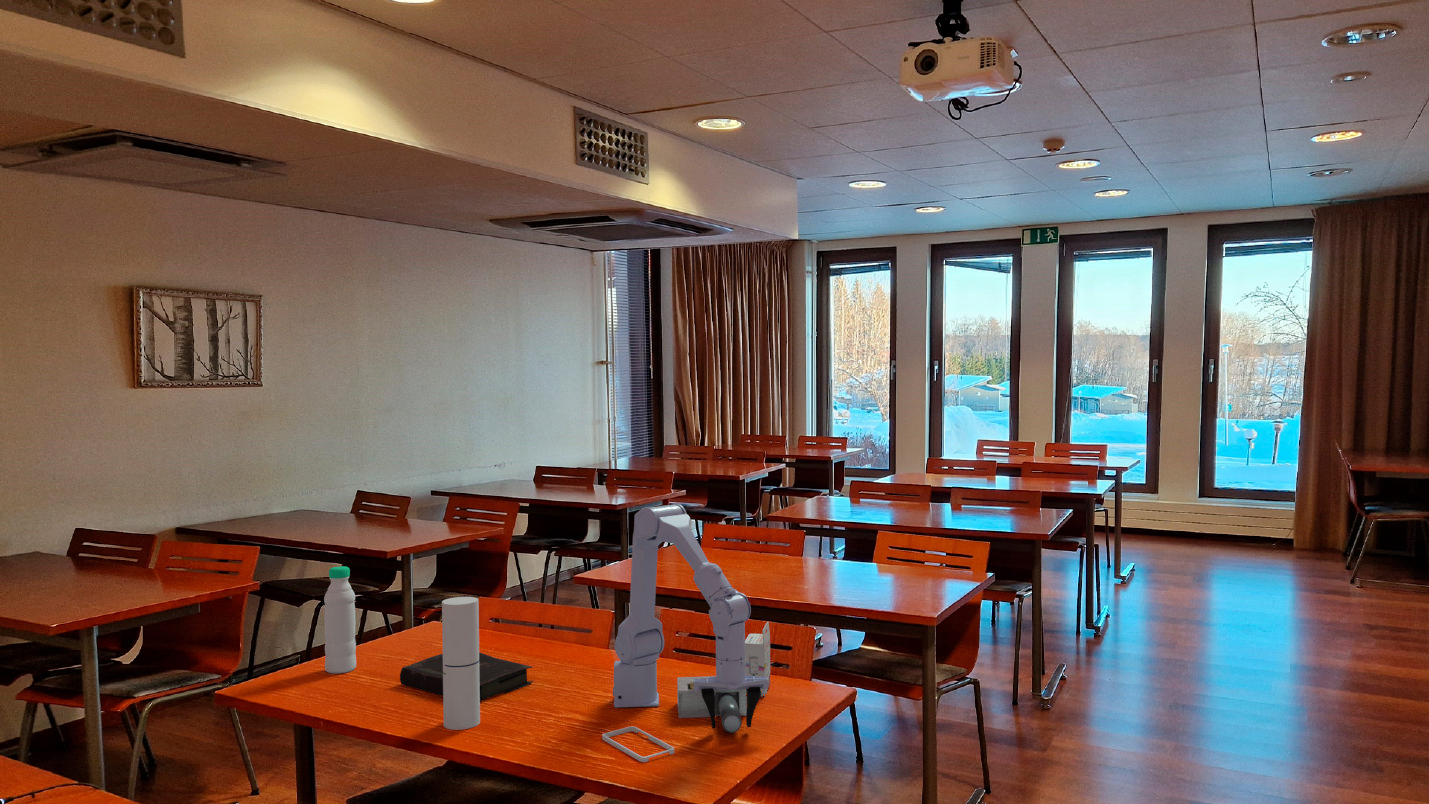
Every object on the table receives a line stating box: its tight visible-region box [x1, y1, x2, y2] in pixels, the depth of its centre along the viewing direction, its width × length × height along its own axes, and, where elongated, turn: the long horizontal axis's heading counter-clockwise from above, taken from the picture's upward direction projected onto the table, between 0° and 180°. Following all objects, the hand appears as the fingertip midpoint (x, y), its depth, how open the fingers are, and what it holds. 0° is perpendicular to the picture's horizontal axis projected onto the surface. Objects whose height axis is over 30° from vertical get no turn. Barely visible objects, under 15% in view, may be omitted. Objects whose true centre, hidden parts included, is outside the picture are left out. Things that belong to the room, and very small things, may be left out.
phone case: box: [601, 725, 675, 763], centre depth 177 cm, size 7×1×15 cm
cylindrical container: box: [441, 596, 481, 731], centre depth 190 cm, size 7×7×25 cm
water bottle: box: [323, 565, 357, 675], centre depth 227 cm, size 7×7×25 cm
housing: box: [676, 675, 747, 719], centre depth 197 cm, size 14×9×6 cm, turn 94°
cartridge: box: [718, 693, 742, 734], centre depth 187 cm, size 4×12×4 cm, turn 4°
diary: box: [399, 651, 534, 701], centre depth 216 cm, size 19×25×5 cm
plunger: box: [690, 682, 694, 690], centre depth 195 cm, size 3×3×2 cm
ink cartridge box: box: [745, 621, 771, 697], centre depth 209 cm, size 9×5×15 cm, turn 168°
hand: (731, 726), depth 183 cm, fingers open, 6 cm apart
